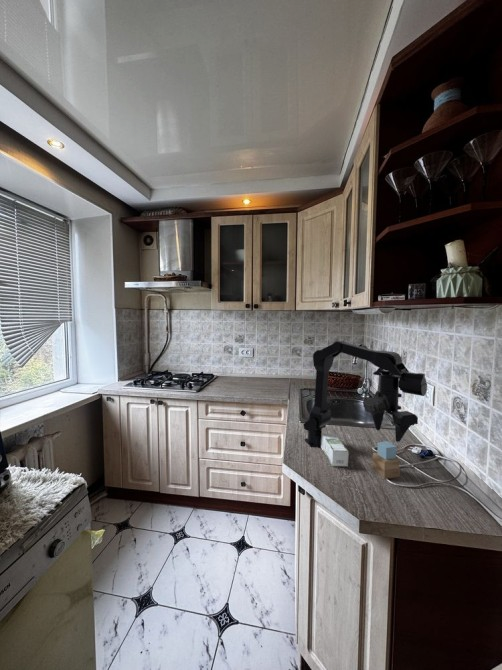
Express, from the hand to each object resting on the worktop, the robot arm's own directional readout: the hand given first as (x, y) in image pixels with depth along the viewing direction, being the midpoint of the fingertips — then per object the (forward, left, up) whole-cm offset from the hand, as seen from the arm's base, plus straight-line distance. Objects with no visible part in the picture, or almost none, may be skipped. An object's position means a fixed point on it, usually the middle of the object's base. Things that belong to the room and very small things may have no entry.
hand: (387, 435), depth 88 cm
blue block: (0, 0, -7) cm, 7 cm away
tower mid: (0, 0, -10) cm, 10 cm away
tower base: (0, 0, -13) cm, 13 cm away
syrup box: (-6, -14, -10) cm, 18 cm away
